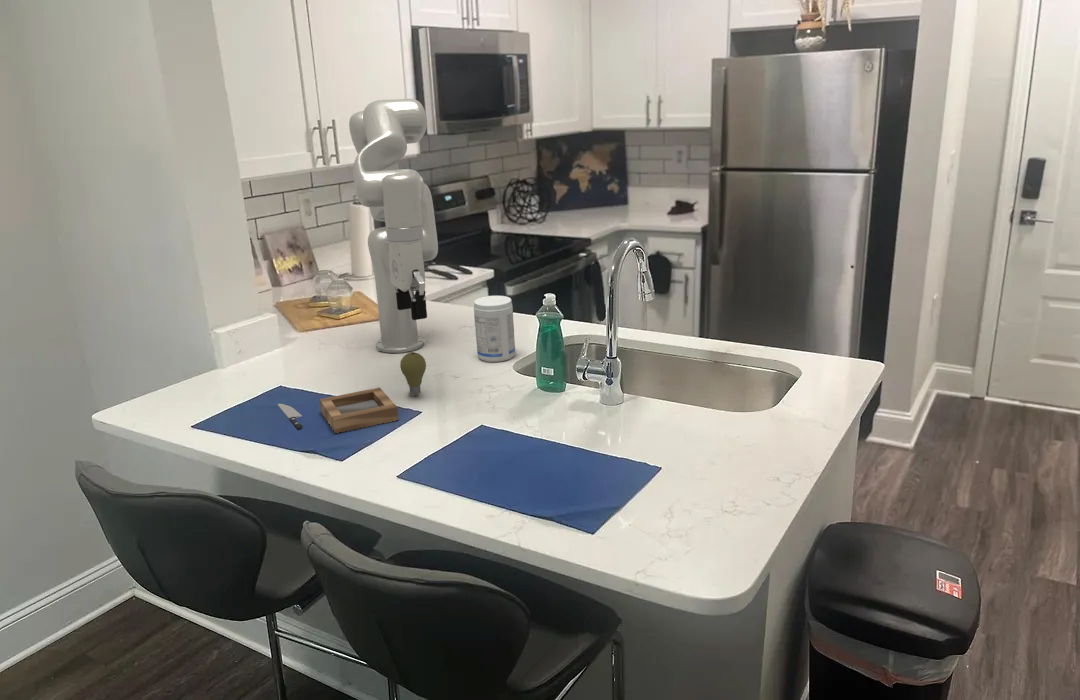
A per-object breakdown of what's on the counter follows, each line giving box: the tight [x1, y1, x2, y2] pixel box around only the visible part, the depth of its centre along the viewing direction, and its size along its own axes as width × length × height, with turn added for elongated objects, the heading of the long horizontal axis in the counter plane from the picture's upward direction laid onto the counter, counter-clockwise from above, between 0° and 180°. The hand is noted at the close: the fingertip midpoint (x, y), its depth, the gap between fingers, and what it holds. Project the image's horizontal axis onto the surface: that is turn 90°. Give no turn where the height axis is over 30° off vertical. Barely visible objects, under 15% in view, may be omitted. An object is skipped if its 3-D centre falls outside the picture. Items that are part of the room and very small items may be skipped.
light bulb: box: [399, 351, 427, 397], centre depth 177 cm, size 6×6×10 cm
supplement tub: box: [473, 295, 516, 363], centre depth 200 cm, size 10×10×15 cm
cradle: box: [319, 387, 400, 434], centre depth 168 cm, size 13×13×3 cm
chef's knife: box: [277, 403, 304, 430], centre depth 171 cm, size 19×1×3 cm
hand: (412, 313), depth 173 cm, fingers open, 9 cm apart
